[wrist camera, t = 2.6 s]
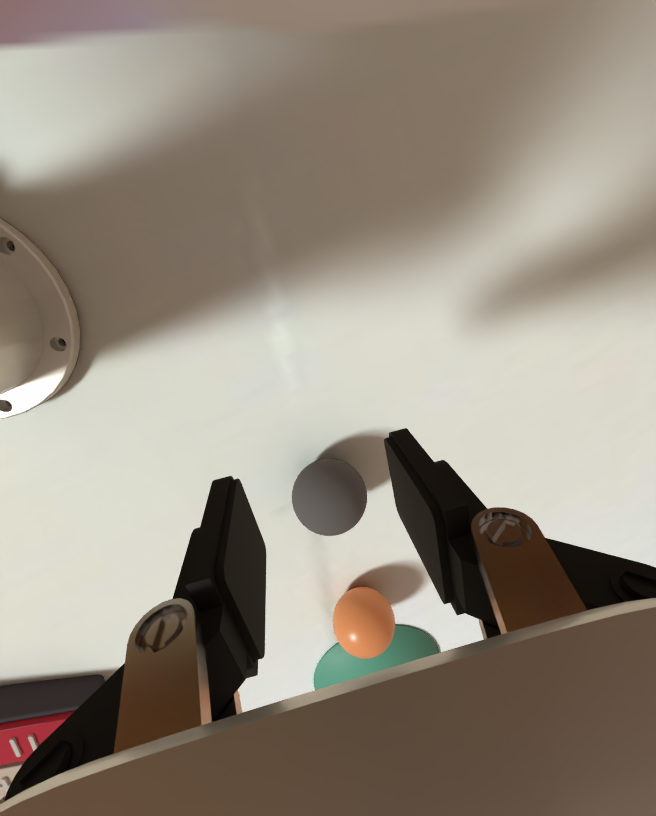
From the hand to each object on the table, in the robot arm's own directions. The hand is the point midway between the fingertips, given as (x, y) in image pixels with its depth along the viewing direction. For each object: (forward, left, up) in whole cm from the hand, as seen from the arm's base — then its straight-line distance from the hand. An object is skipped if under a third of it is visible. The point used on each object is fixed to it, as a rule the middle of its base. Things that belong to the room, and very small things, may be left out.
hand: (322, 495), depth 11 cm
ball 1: (+10, 0, -13) cm, 16 cm away
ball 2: (+24, 0, -13) cm, 27 cm away
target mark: (+36, 0, -15) cm, 39 cm away
